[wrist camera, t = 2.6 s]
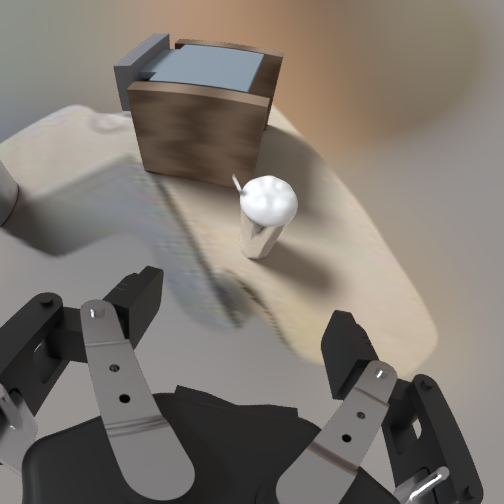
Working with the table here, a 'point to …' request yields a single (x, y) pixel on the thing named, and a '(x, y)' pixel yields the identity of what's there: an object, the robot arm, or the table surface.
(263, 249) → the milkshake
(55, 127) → the table surface
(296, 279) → the table surface
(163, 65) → the trapdoor
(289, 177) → the table surface
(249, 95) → the stand
